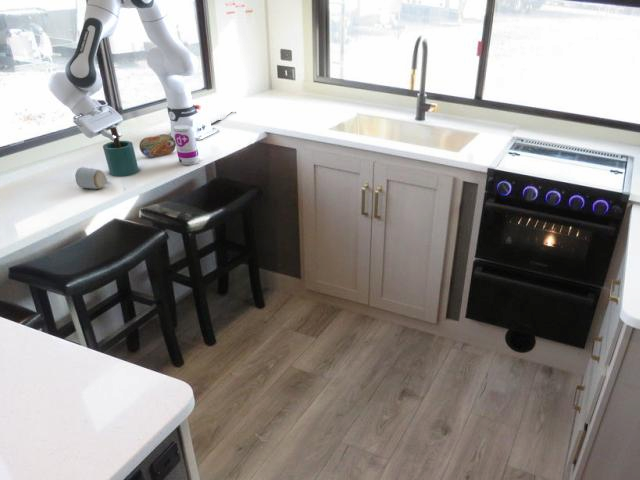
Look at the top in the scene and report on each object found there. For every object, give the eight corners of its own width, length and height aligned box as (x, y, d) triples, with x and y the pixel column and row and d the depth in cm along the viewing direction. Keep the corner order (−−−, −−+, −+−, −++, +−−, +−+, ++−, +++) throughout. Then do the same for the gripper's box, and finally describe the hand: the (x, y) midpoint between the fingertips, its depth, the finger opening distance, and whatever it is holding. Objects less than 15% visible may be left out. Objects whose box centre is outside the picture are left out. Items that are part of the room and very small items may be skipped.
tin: (143, 159, 246) (139, 140, 242) (140, 157, 248) (136, 138, 244) (177, 152, 255) (173, 133, 250) (174, 150, 257) (170, 131, 252)
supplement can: (193, 166, 240) (187, 130, 232) (175, 164, 241) (168, 128, 233) (203, 159, 247) (196, 124, 239) (185, 158, 248) (178, 123, 240)
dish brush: (124, 163, 236) (114, 124, 227) (132, 166, 234) (122, 126, 225) (113, 167, 232) (103, 127, 223) (122, 169, 230) (111, 129, 221)
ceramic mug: (98, 192, 215) (93, 172, 211) (78, 190, 216) (72, 170, 212) (114, 182, 224) (109, 163, 220) (94, 180, 225) (89, 161, 221)
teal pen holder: (126, 165, 240) (120, 139, 234) (144, 169, 236) (138, 143, 230) (104, 173, 232) (96, 146, 226) (122, 178, 228) (115, 150, 222)
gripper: (73, 112, 212) (104, 140, 216) (107, 99, 229) (135, 125, 233) (66, 123, 215) (97, 151, 219) (100, 109, 232) (128, 135, 236)
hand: (117, 137), depth 226 cm, fingers closed on dish brush, 2 cm apart
